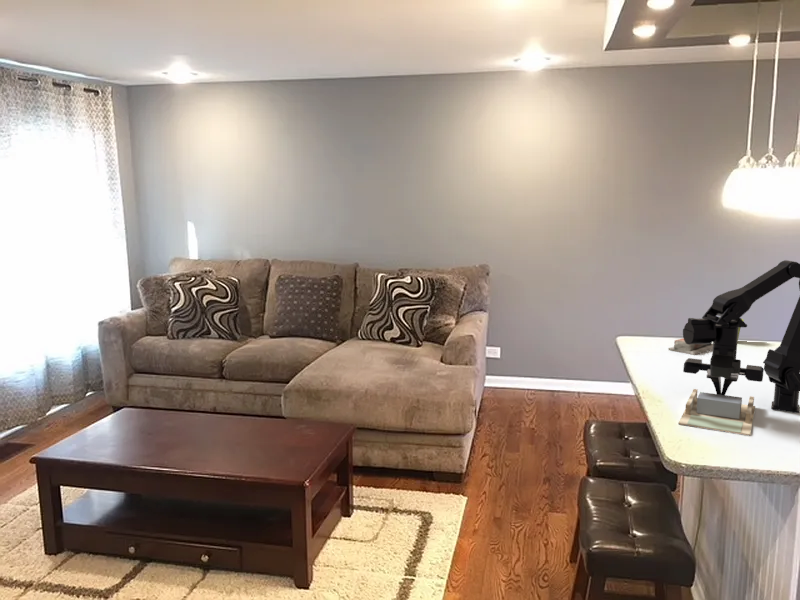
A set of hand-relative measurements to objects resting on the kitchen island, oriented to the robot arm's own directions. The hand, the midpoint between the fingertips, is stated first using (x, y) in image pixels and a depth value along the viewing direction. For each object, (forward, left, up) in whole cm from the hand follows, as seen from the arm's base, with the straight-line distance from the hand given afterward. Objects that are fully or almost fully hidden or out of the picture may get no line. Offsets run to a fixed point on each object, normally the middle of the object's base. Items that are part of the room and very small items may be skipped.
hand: (720, 400), depth 181 cm
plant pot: (-90, -5, -3) cm, 90 cm away
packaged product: (-71, -15, -3) cm, 72 cm away
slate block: (+4, 0, -3) cm, 5 cm away
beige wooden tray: (+5, 0, -2) cm, 6 cm away
